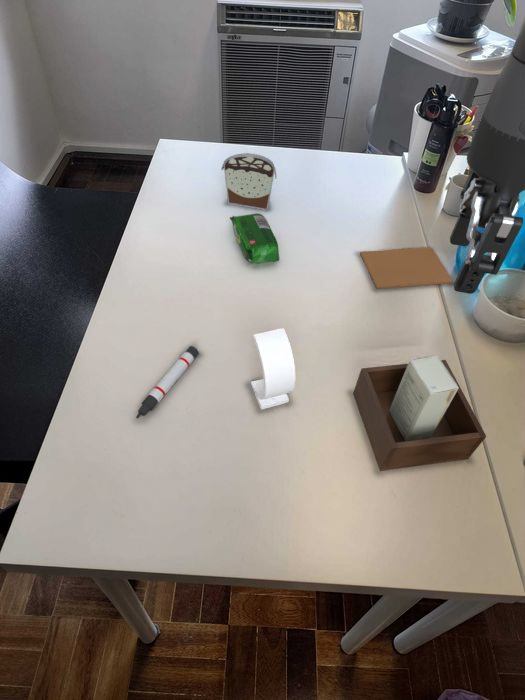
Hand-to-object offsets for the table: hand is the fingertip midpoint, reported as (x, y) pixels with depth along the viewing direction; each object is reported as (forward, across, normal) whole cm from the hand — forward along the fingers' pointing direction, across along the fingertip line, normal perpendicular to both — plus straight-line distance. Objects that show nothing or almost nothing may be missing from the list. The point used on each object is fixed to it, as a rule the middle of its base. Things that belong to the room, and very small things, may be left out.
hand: (460, 265), depth 53 cm
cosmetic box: (+28, -3, -2) cm, 28 cm away
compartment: (+28, -3, -2) cm, 28 cm away
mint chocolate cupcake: (+28, +51, +35) cm, 68 cm away
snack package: (+28, +34, +30) cm, 54 cm away
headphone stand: (+28, -3, +20) cm, 35 cm away
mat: (+28, +35, -1) cm, 45 cm away
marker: (+28, -5, +36) cm, 46 cm away
